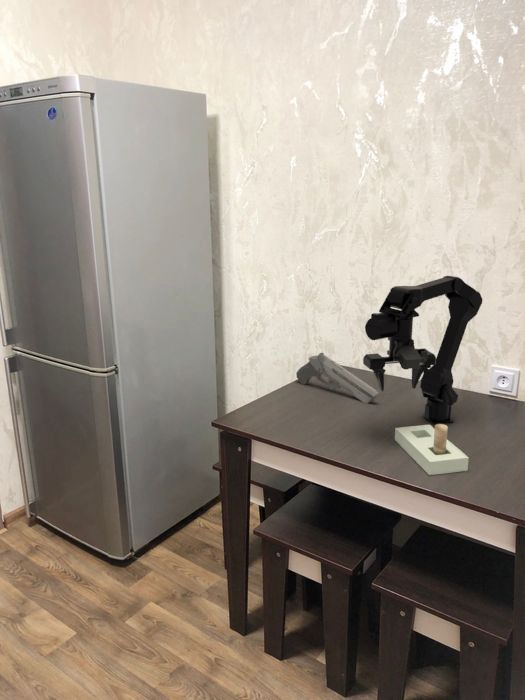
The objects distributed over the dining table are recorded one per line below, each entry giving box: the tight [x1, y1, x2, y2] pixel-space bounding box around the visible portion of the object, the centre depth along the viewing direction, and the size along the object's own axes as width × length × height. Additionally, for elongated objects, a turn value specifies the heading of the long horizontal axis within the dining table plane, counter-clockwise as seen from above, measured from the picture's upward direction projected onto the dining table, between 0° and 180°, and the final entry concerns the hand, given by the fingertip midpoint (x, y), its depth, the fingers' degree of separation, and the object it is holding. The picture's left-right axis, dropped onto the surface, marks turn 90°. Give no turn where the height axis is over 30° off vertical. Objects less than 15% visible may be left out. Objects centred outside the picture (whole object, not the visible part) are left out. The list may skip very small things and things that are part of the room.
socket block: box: [394, 424, 470, 476], centre depth 145 cm, size 20×10×4 cm, turn 11°
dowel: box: [433, 423, 449, 455], centre depth 139 cm, size 3×3×10 cm
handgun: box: [295, 352, 380, 404], centre depth 189 cm, size 31×3×15 cm, turn 47°
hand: (397, 389), depth 154 cm, fingers open, 9 cm apart
